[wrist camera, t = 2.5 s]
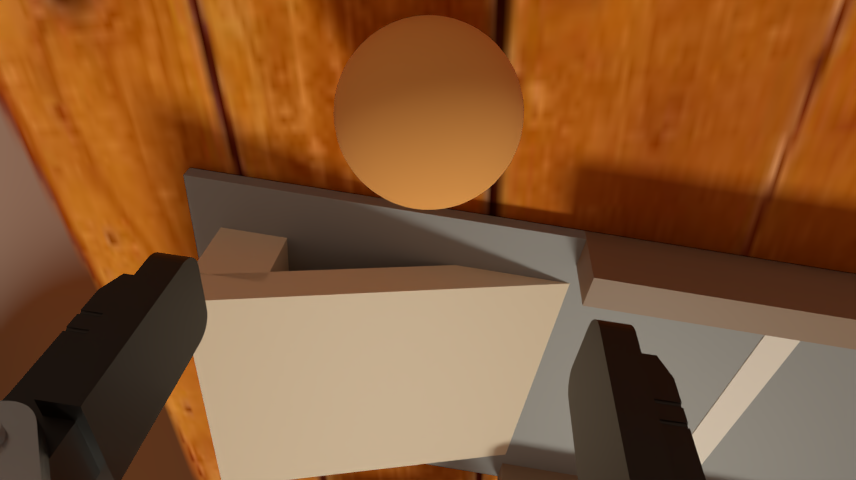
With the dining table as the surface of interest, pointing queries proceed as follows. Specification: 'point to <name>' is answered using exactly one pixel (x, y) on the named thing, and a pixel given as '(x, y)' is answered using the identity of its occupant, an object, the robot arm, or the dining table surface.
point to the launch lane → (494, 339)
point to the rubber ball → (428, 112)
